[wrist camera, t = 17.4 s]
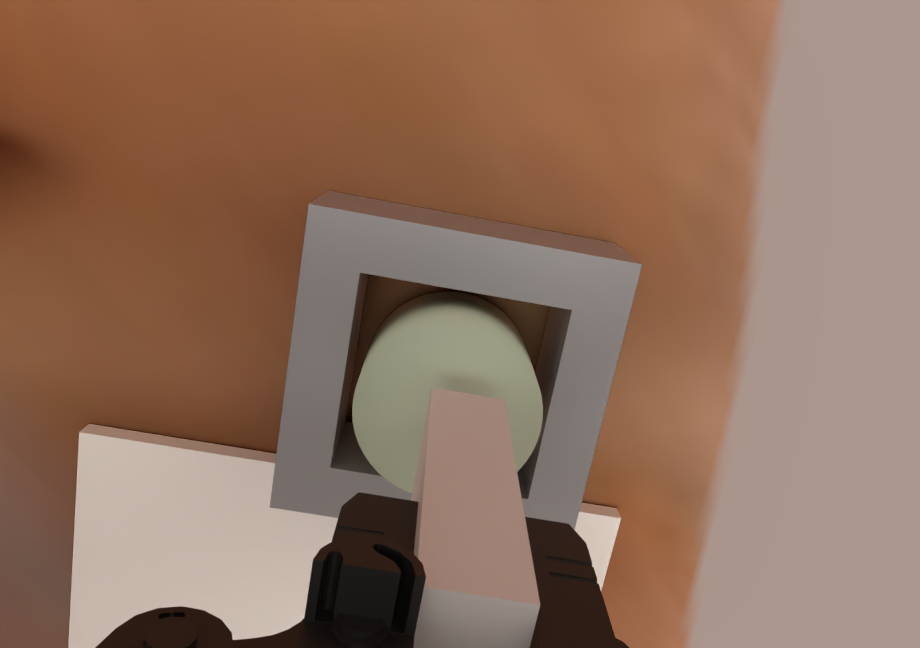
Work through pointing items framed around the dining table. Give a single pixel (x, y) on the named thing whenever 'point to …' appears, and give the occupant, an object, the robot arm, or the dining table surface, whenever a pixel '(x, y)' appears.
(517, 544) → the robot arm
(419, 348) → the button
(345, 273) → the button housing
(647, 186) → the dining table surface
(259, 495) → the sheet
